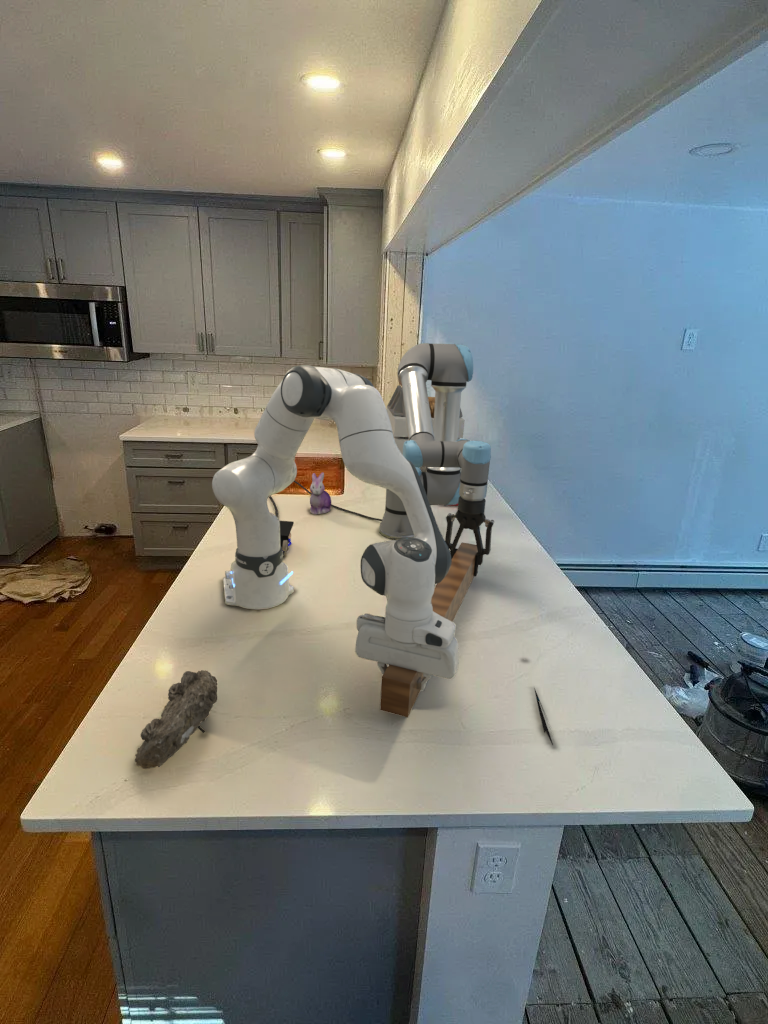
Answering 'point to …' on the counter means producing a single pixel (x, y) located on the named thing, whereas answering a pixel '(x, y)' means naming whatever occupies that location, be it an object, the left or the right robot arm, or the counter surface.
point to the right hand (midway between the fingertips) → (464, 572)
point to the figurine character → (285, 534)
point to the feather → (542, 717)
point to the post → (445, 602)
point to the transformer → (399, 418)
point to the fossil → (178, 718)
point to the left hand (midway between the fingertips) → (404, 683)
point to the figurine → (319, 496)
